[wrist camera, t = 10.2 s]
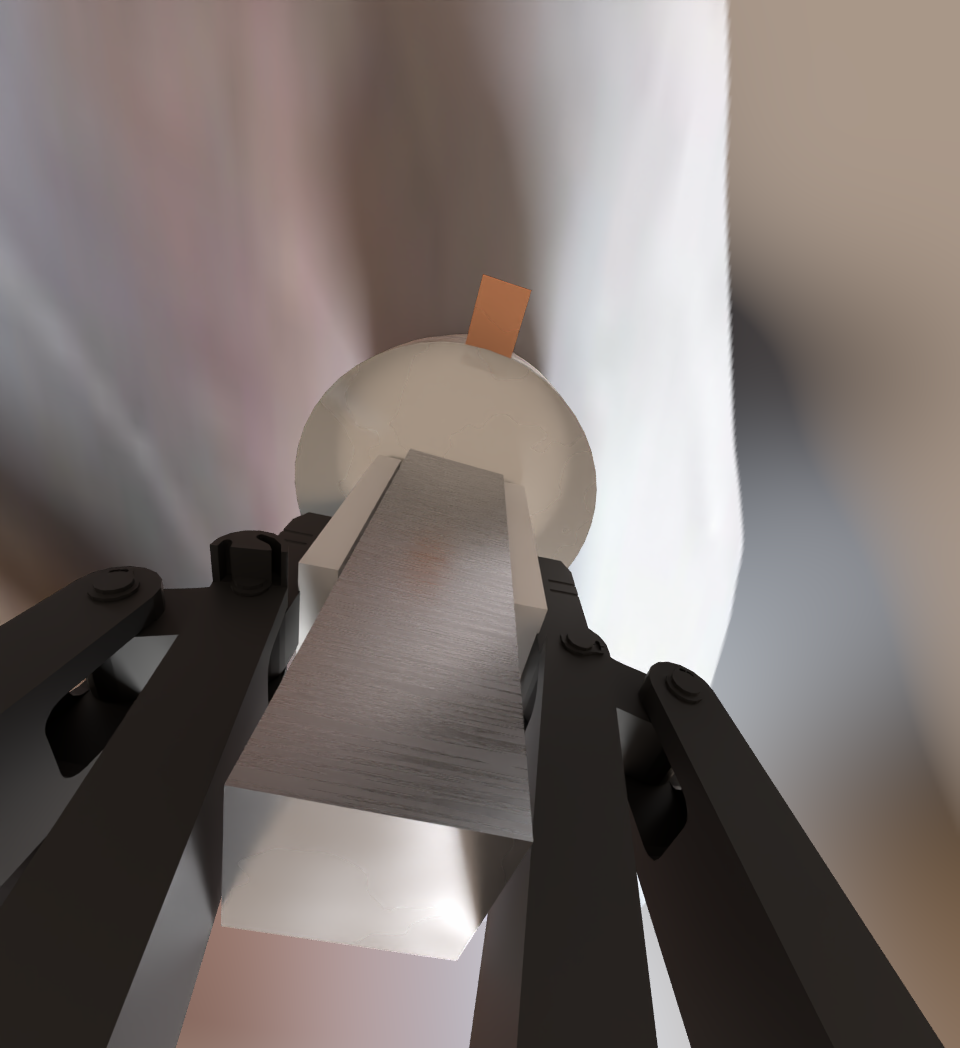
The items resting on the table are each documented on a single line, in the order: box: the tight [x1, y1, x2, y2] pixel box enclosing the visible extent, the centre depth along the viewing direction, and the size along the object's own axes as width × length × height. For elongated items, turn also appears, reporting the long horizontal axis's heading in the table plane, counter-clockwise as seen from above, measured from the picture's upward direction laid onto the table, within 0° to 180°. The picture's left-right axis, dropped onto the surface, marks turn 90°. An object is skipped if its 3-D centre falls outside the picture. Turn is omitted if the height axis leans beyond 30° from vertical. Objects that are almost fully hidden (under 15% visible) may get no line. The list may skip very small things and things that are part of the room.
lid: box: [221, 274, 597, 961], centre depth 11 cm, size 12×10×14 cm
